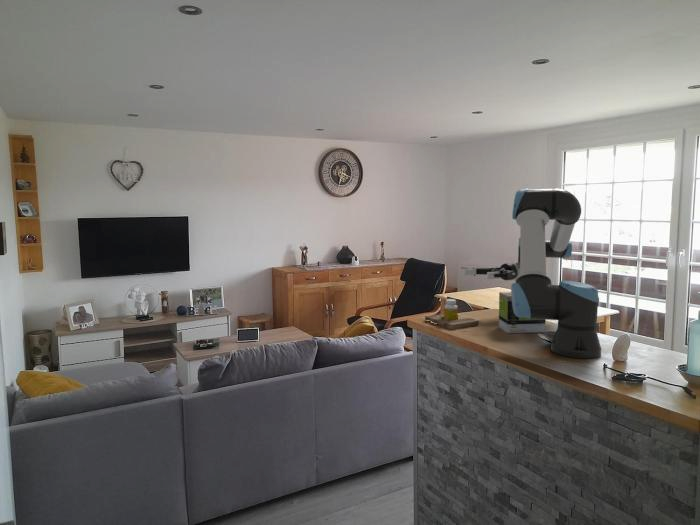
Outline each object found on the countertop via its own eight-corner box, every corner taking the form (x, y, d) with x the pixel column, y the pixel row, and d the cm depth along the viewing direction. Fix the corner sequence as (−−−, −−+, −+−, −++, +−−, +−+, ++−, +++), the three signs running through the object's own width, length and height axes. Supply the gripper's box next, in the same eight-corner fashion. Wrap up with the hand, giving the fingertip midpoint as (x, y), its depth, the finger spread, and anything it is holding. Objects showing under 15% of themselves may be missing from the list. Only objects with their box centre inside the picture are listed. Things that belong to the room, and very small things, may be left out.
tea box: (534, 326, 197) (536, 290, 195) (545, 333, 187) (547, 295, 185) (497, 327, 196) (499, 290, 194) (506, 333, 186) (507, 295, 185)
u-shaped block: (478, 325, 199) (478, 320, 199) (452, 329, 192) (452, 324, 192) (450, 317, 214) (450, 312, 213) (425, 320, 207) (425, 316, 207)
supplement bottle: (447, 324, 200) (447, 301, 199) (441, 321, 205) (442, 299, 204) (459, 324, 201) (460, 300, 200) (453, 321, 207) (454, 298, 205)
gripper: (533, 283, 207) (497, 286, 196) (490, 276, 228) (455, 279, 218) (534, 265, 206) (498, 267, 196) (490, 260, 228) (455, 262, 217)
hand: (475, 274), depth 207 cm, fingers open, 13 cm apart
